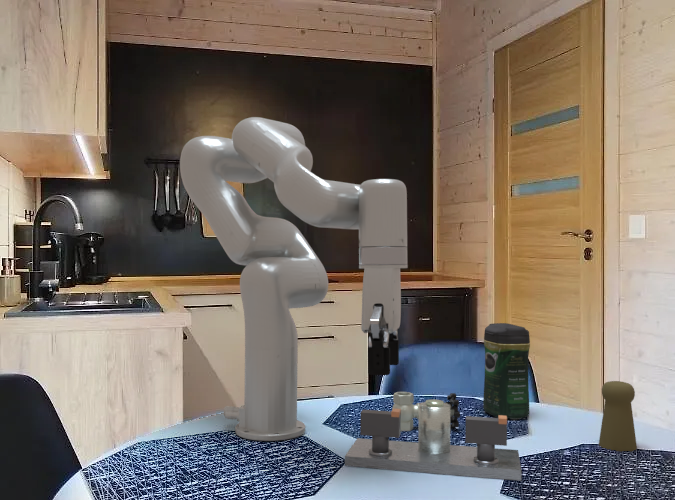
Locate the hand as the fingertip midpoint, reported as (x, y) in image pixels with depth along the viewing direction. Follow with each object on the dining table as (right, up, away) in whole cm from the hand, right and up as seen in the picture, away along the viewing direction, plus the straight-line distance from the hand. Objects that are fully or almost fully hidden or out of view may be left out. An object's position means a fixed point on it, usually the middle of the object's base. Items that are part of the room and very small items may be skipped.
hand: (384, 369), depth 101 cm
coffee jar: (+27, -15, +32) cm, 45 cm away
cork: (+41, -15, +10) cm, 45 cm away
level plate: (+8, -15, 0) cm, 17 cm away
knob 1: (-1, -13, 0) cm, 13 cm away
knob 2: (+15, -13, -3) cm, 20 cm away
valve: (+9, -15, +21) cm, 27 cm away
